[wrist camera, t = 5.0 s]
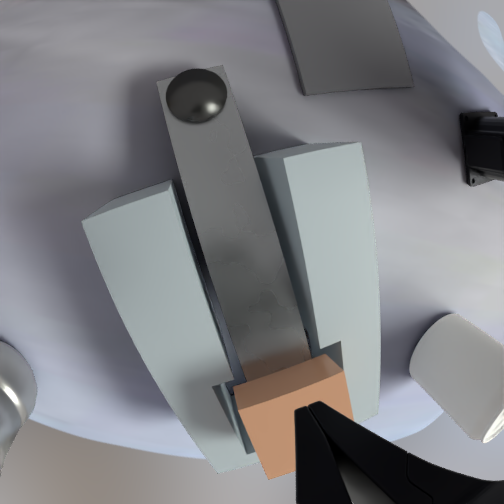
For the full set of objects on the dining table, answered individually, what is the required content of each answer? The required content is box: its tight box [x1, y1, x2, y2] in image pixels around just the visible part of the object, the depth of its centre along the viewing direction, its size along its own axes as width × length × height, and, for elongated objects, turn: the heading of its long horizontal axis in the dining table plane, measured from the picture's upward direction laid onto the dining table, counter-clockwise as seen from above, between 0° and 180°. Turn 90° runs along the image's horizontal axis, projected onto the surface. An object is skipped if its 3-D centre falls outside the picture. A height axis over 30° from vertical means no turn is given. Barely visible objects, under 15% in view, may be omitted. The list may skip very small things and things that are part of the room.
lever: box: [156, 65, 312, 382], centre depth 15 cm, size 21×4×1 cm, turn 14°
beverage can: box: [409, 314, 504, 443], centre depth 21 cm, size 8×8×12 cm
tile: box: [233, 354, 354, 479], centre depth 14 cm, size 5×5×2 cm
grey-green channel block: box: [81, 142, 381, 474], centre depth 17 cm, size 18×12×6 cm, turn 14°
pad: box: [276, 0, 414, 96], centre depth 16 cm, size 9×9×1 cm
